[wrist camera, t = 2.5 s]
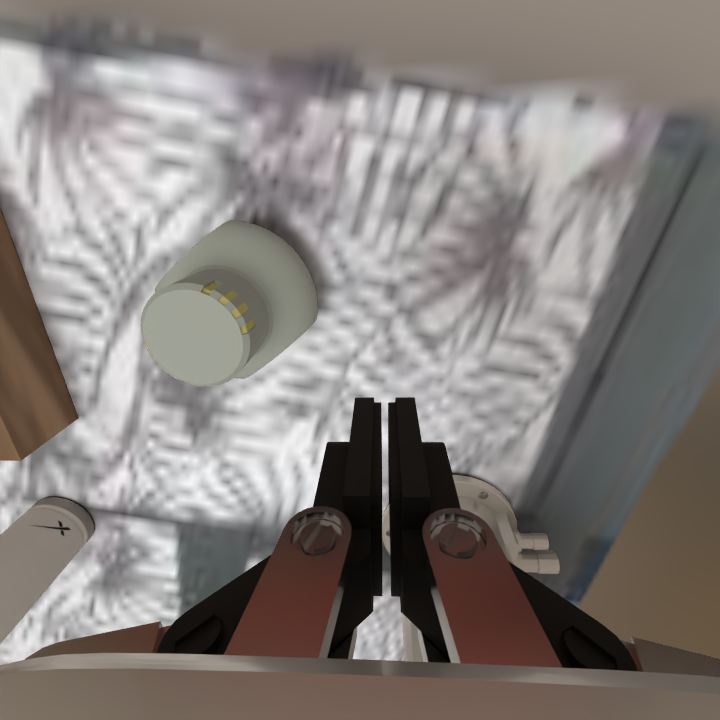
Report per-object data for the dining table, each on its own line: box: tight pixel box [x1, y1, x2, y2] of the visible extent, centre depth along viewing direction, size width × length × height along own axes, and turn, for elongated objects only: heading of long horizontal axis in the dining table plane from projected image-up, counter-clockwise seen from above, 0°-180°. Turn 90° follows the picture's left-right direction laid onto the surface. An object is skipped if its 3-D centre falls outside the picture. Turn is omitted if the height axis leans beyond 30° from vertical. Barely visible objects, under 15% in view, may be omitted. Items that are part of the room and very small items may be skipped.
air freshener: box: [141, 220, 318, 386], centre depth 25 cm, size 11×8×10 cm
